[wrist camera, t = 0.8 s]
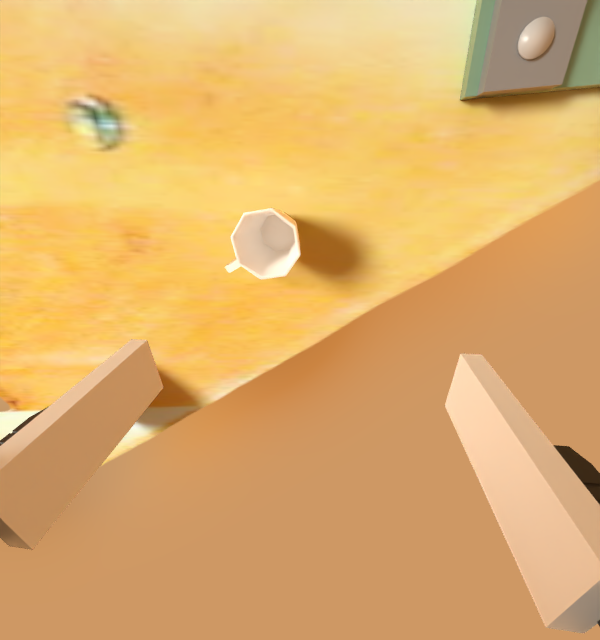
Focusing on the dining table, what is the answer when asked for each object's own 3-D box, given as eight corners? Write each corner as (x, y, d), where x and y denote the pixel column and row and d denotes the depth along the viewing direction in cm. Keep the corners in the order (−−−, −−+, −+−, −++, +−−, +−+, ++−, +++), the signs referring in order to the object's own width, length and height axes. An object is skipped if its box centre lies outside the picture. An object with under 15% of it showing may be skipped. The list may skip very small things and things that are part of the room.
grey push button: (488, 8, 23) (505, -12, 20) (618, -9, 22) (654, -33, 19) (471, 99, 26) (485, 90, 23) (586, 88, 24) (613, 78, 22)
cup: (320, 240, 33) (315, 258, 26) (256, 280, 37) (236, 304, 30) (288, 186, 31) (274, 190, 24) (223, 234, 35) (193, 249, 27)
